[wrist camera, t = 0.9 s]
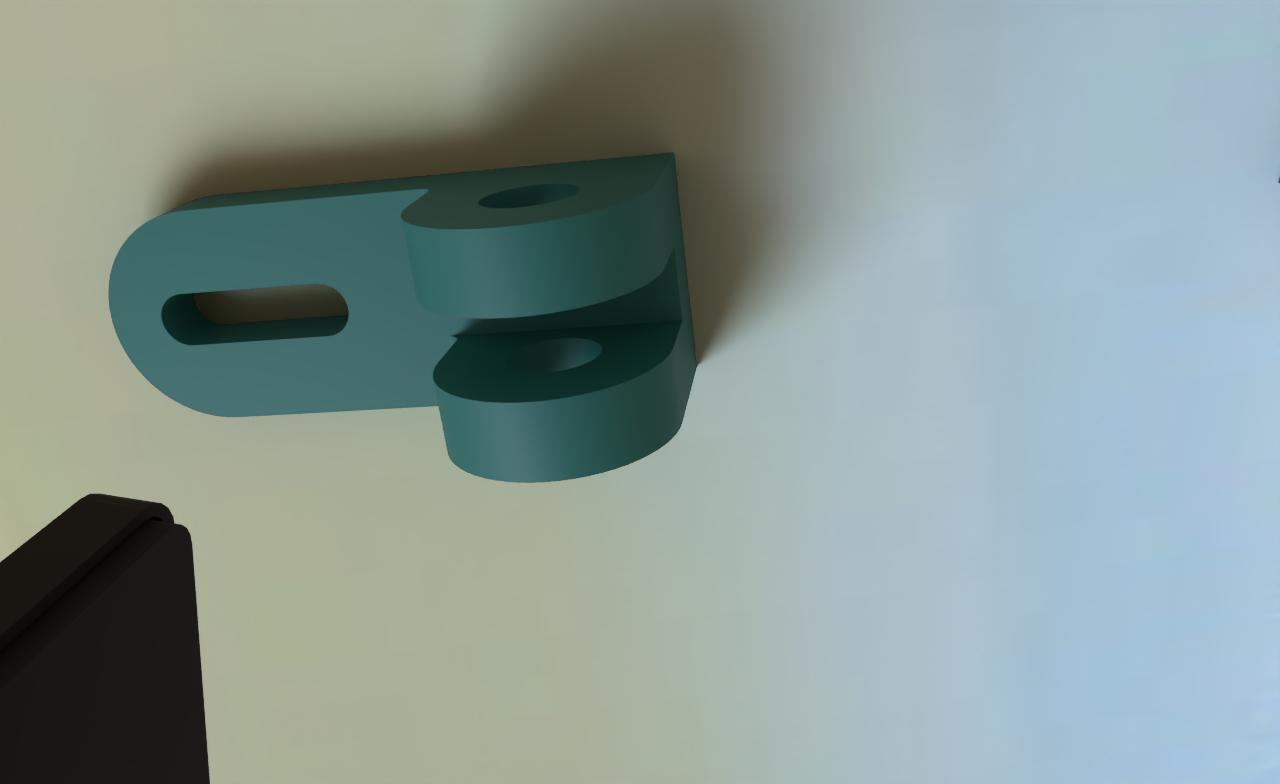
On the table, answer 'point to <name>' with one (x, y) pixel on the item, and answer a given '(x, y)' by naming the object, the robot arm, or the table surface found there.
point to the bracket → (437, 309)
